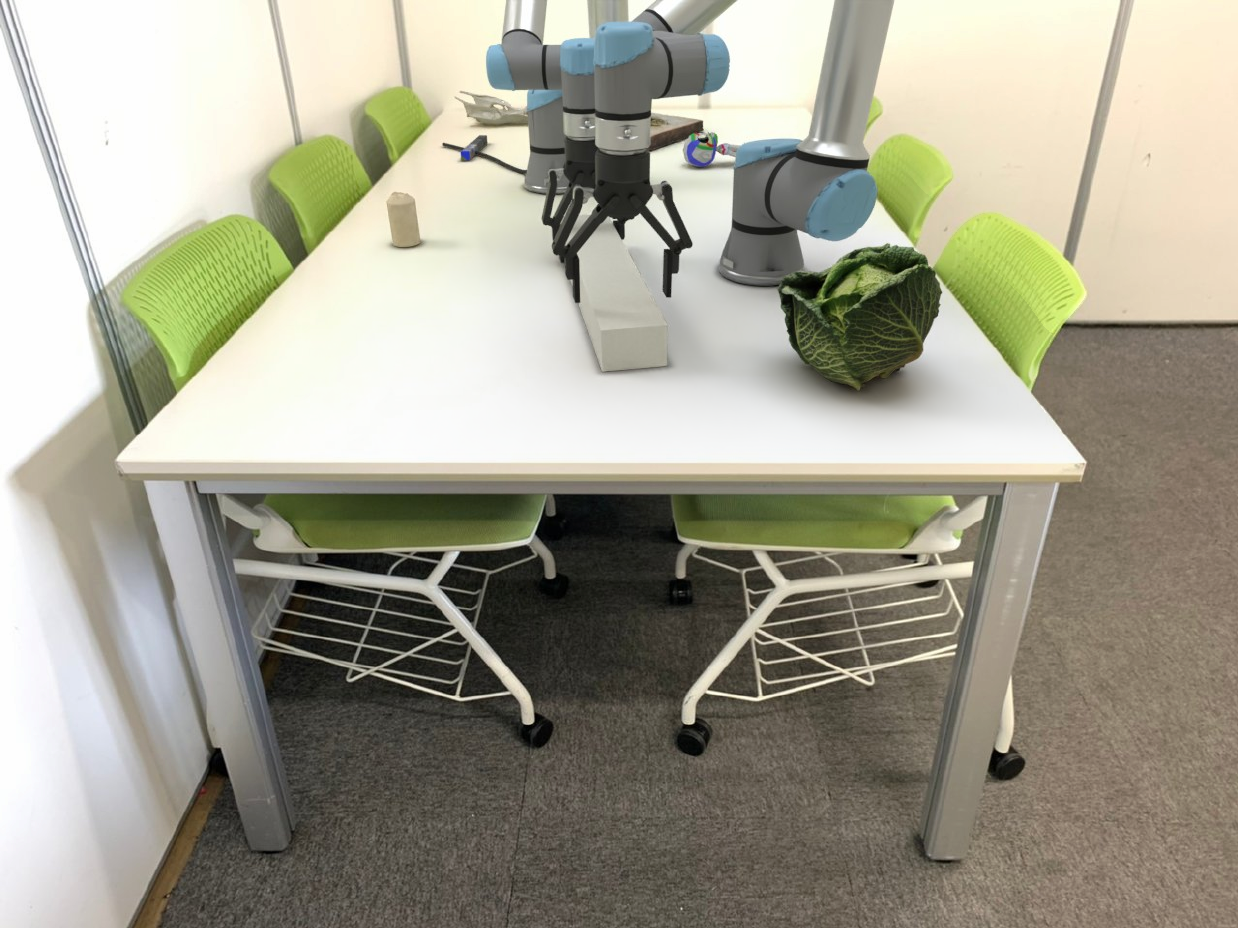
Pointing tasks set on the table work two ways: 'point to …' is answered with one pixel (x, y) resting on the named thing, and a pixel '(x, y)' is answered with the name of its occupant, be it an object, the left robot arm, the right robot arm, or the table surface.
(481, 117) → the anatomical model
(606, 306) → the slab
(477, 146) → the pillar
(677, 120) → the plaque
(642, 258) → the table surface
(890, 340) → the vegetable
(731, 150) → the toy
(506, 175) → the table surface
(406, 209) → the candle
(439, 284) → the table surface
